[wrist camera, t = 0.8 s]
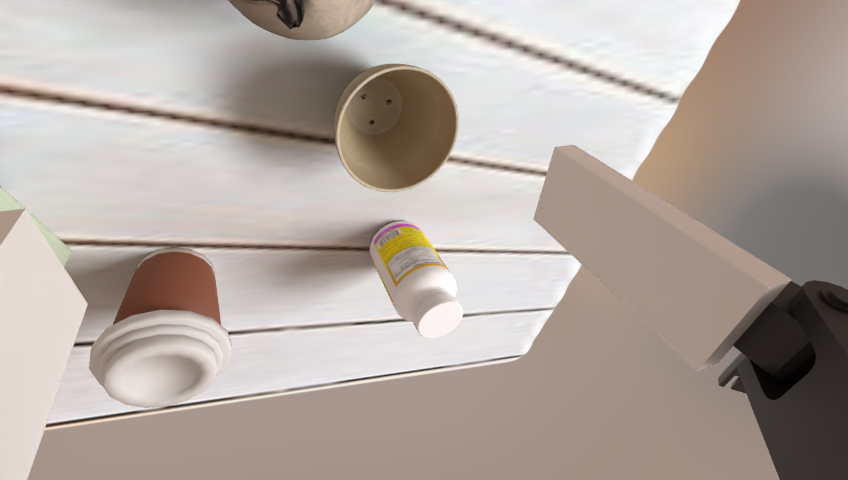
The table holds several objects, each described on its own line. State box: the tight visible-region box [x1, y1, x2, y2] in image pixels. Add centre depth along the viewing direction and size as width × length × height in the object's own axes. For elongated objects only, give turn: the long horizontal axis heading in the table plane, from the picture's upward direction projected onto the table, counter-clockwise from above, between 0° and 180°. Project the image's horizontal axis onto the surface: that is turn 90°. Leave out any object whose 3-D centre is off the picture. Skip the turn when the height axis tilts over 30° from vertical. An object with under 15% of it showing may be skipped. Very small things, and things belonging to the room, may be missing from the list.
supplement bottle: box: [370, 221, 463, 338], centre depth 41 cm, size 7×7×13 cm
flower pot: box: [334, 64, 458, 192], centre depth 32 cm, size 10×10×7 cm
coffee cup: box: [89, 247, 232, 408], centre depth 33 cm, size 9×9×12 cm
